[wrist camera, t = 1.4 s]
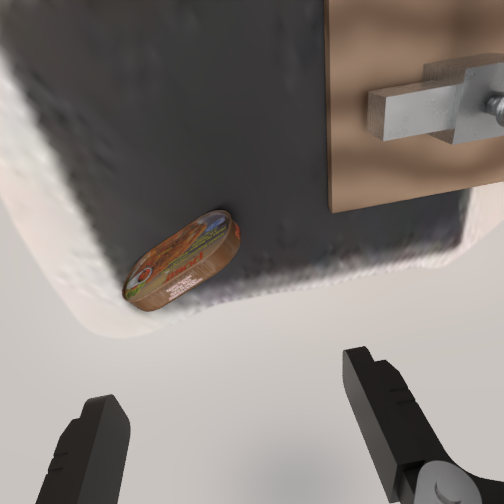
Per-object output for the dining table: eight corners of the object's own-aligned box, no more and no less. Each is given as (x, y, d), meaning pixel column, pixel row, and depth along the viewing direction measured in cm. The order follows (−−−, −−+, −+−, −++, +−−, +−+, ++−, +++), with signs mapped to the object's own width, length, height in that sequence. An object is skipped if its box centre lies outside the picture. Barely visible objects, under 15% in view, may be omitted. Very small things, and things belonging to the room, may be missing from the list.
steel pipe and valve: (361, 75, 31) (391, 82, 26) (547, 41, 31) (613, 42, 26) (359, 139, 34) (386, 157, 29) (527, 108, 35) (583, 120, 30)
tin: (226, 198, 38) (231, 235, 31) (242, 218, 40) (249, 257, 33) (127, 264, 41) (111, 310, 34) (145, 280, 43) (133, 327, 36)
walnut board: (323, -26, 28) (328, -29, 27) (598, -75, 28) (616, -80, 27) (328, 207, 40) (332, 213, 39) (521, 171, 40) (531, 176, 39)
